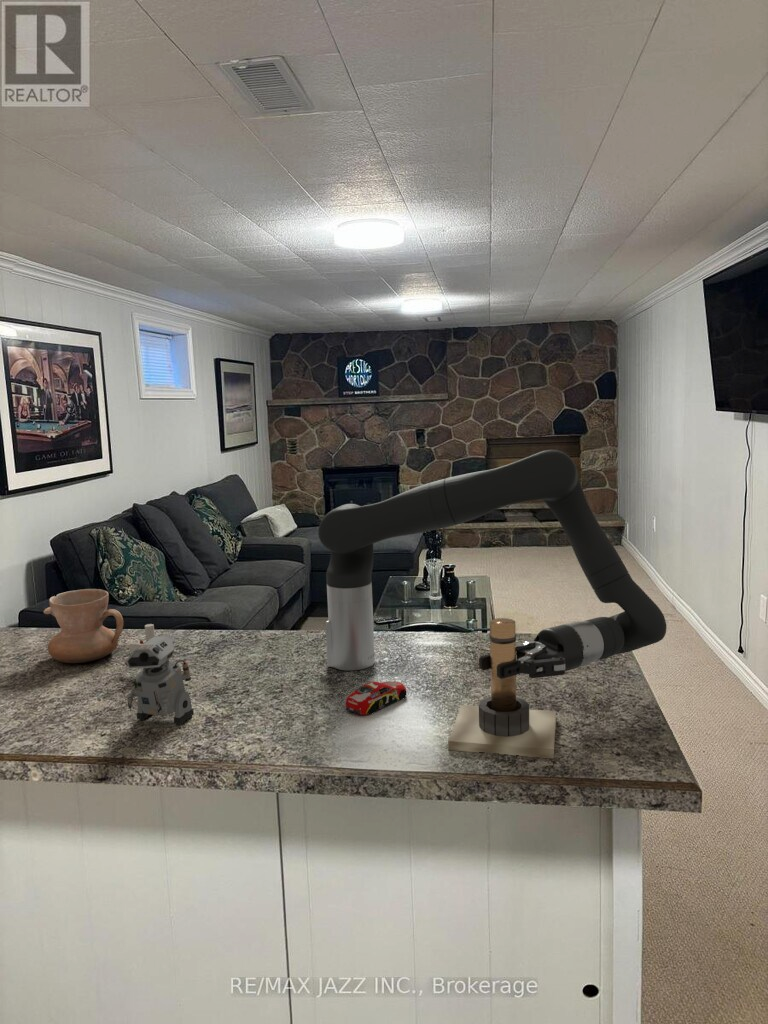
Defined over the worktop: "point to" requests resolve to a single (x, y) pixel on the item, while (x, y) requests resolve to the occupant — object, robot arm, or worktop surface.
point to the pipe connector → (148, 633)
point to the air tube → (500, 653)
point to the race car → (374, 697)
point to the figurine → (159, 681)
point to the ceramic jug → (82, 626)
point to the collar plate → (504, 730)
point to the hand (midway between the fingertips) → (489, 667)
